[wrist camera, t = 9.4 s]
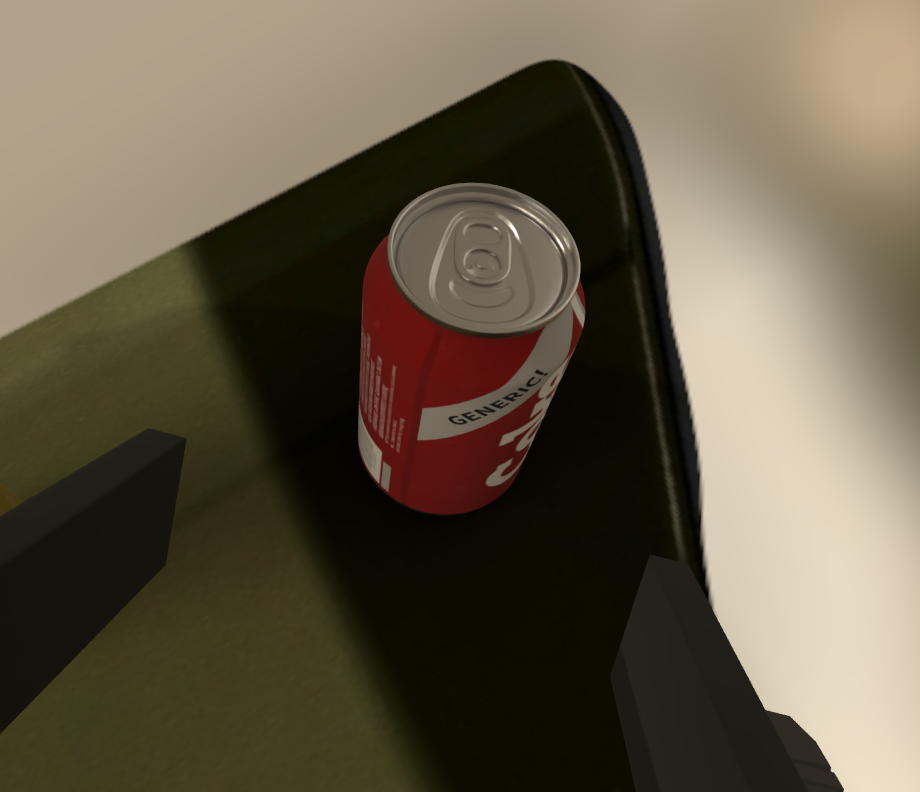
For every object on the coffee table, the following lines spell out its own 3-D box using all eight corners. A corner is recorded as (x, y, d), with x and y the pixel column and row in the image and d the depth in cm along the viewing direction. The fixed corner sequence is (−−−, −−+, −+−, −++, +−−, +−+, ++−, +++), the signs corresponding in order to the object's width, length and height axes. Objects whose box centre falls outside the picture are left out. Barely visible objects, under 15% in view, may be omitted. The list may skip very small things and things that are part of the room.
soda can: (349, 516, 30) (352, 339, 20) (365, 370, 33) (375, 154, 23) (521, 529, 30) (611, 364, 20) (519, 383, 34) (594, 180, 24)
